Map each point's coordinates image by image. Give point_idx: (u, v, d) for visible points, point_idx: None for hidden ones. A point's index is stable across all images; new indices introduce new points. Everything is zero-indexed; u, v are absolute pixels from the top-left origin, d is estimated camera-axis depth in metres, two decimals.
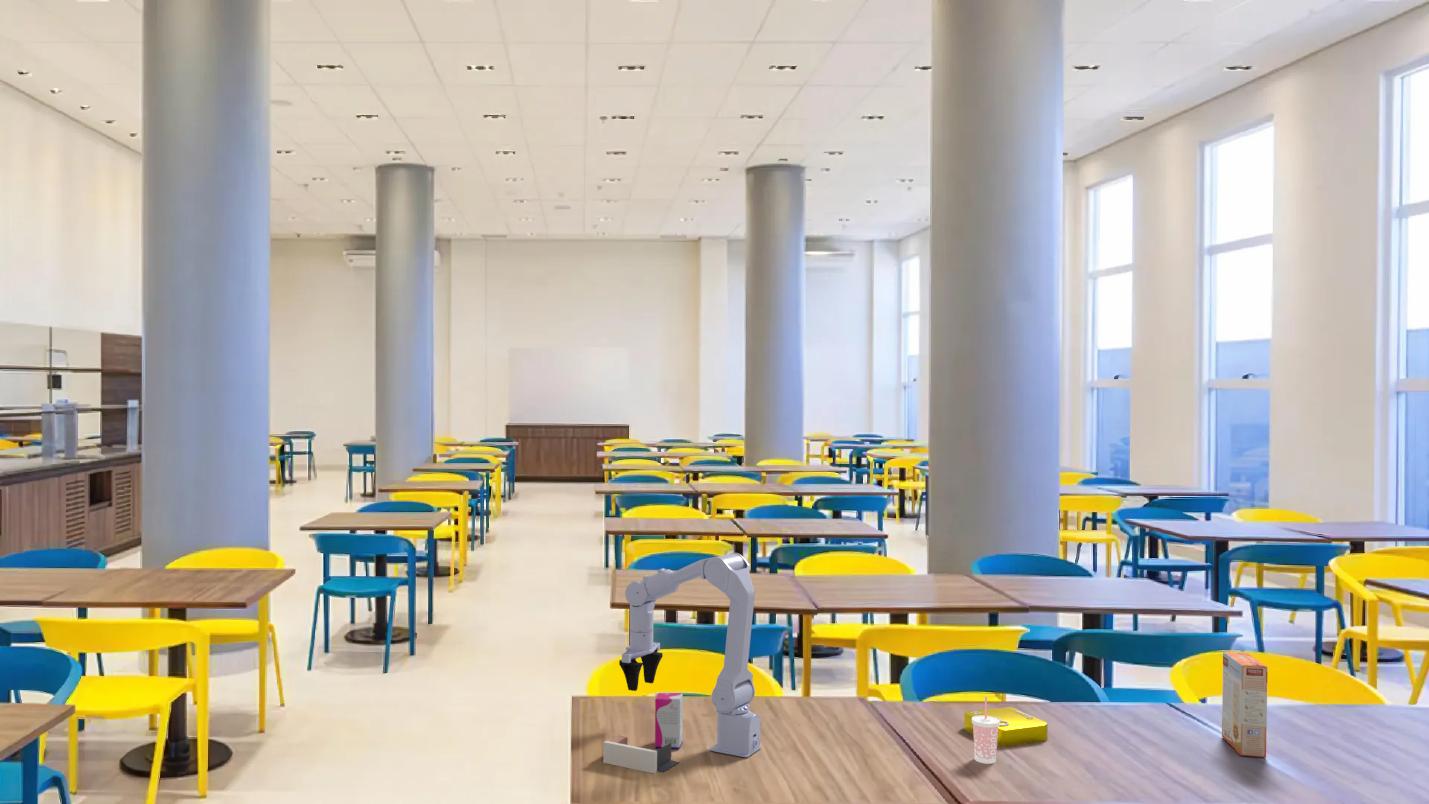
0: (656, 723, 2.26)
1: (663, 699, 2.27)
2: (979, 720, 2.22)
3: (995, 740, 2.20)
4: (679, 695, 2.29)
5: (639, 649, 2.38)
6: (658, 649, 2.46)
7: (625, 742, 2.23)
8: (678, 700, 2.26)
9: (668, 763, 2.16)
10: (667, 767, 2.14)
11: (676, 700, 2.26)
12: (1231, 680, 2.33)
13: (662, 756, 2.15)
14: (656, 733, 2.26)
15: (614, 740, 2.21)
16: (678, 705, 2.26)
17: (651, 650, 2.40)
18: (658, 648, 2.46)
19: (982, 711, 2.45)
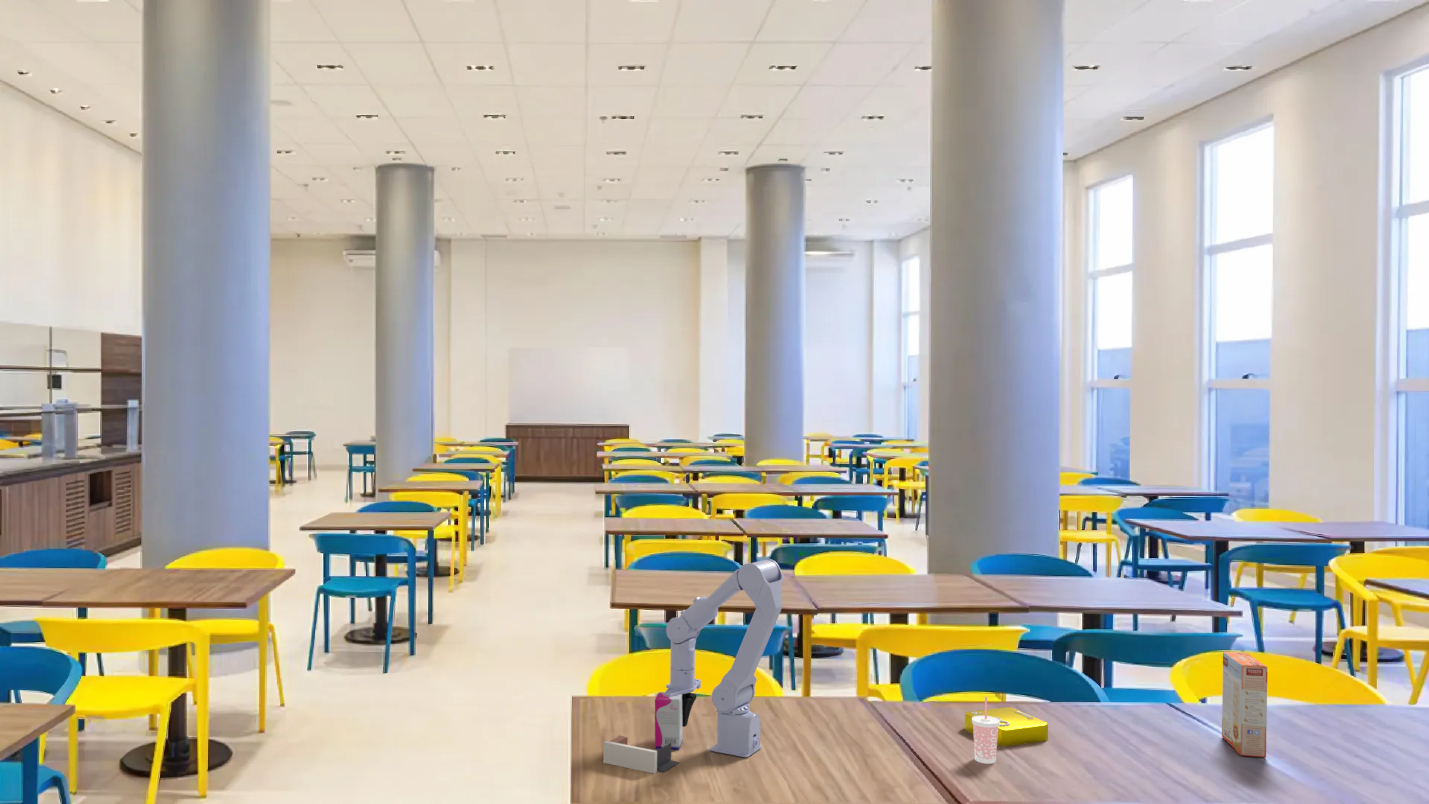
0: (656, 723, 2.26)
1: (663, 699, 2.26)
2: (979, 720, 2.22)
3: (995, 740, 2.20)
4: (679, 695, 2.29)
5: (680, 688, 2.31)
6: (699, 686, 2.40)
7: (625, 742, 2.23)
8: (678, 700, 2.26)
9: (668, 763, 2.16)
10: (667, 767, 2.14)
11: (676, 700, 2.26)
12: (1231, 680, 2.33)
13: (662, 756, 2.15)
14: (656, 733, 2.26)
15: (614, 740, 2.21)
16: (678, 705, 2.26)
17: (692, 688, 2.33)
18: (699, 685, 2.40)
19: (982, 711, 2.45)
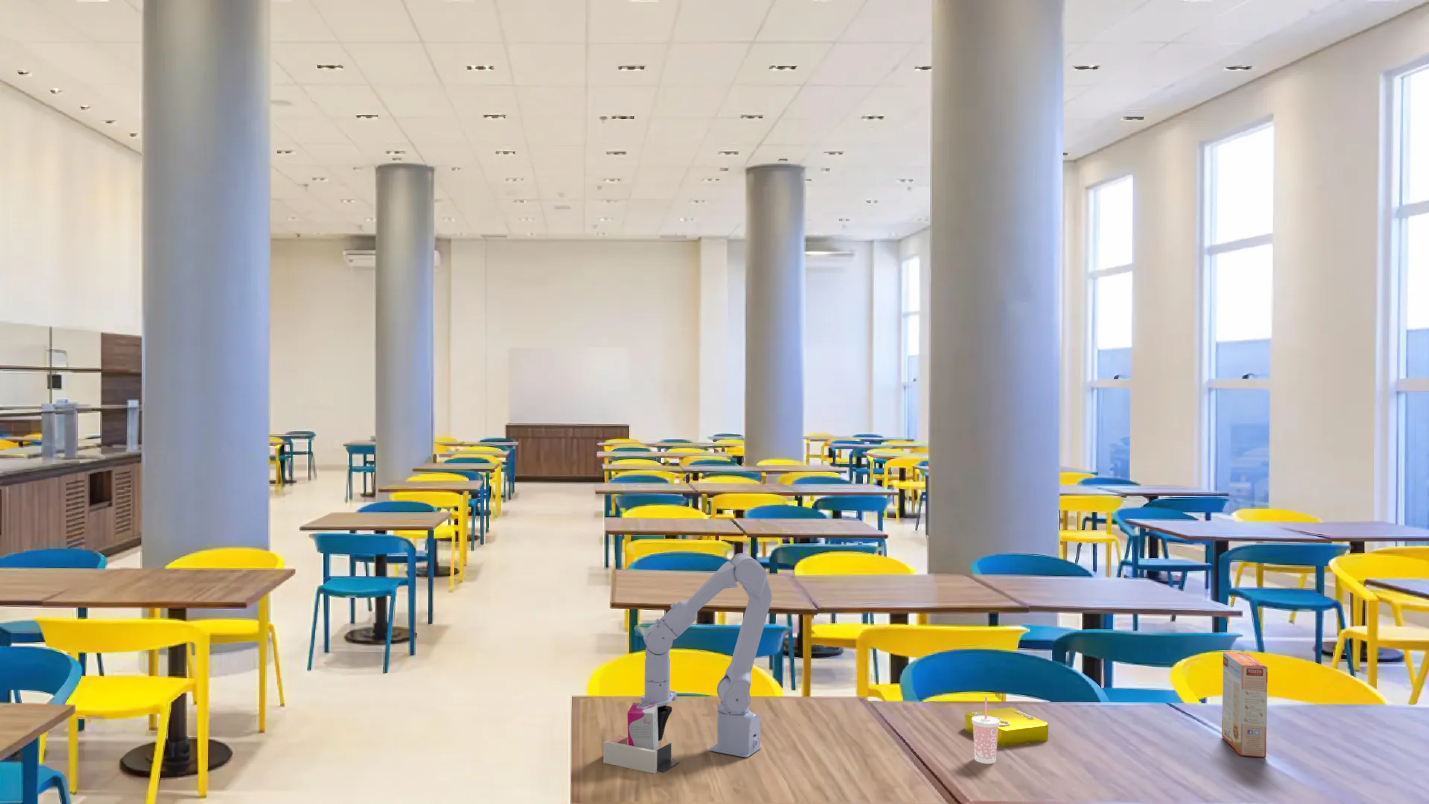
0: (629, 737, 2.16)
1: (635, 713, 2.16)
2: (979, 720, 2.22)
3: (995, 740, 2.20)
4: (653, 707, 2.19)
5: (655, 700, 2.21)
6: (675, 698, 2.29)
7: (625, 742, 2.23)
8: (651, 714, 2.15)
9: (668, 763, 2.16)
10: (667, 767, 2.14)
11: (649, 714, 2.15)
12: (1231, 680, 2.33)
13: (662, 756, 2.15)
14: None
15: (614, 740, 2.21)
16: (651, 719, 2.15)
17: (668, 701, 2.23)
18: (675, 697, 2.29)
19: (982, 711, 2.45)
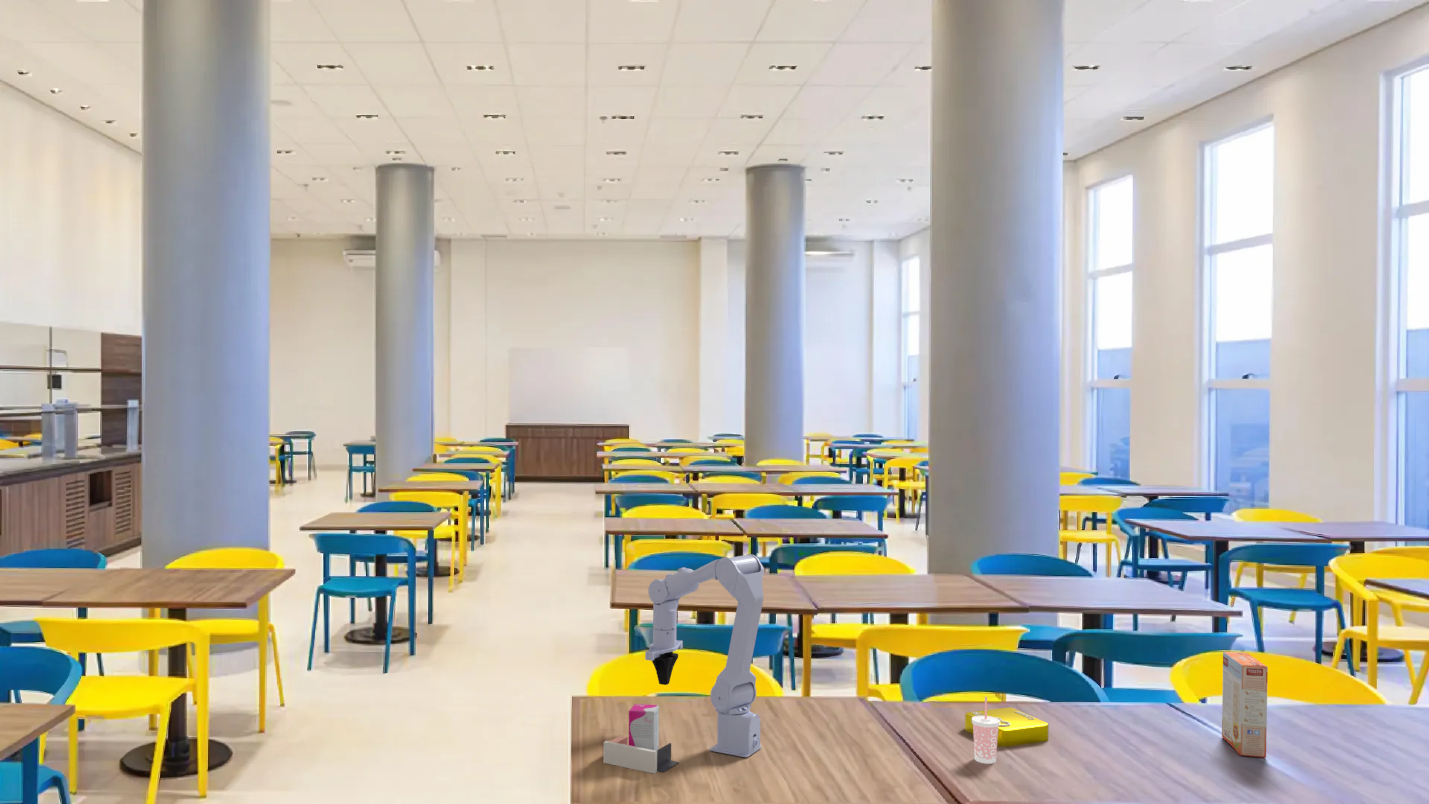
0: (629, 736, 2.17)
1: (637, 711, 2.17)
2: (979, 720, 2.22)
3: (995, 740, 2.20)
4: (654, 707, 2.20)
5: (662, 647, 2.40)
6: (681, 647, 2.48)
7: (625, 742, 2.23)
8: (652, 712, 2.17)
9: (668, 763, 2.16)
10: (667, 767, 2.14)
11: (650, 712, 2.17)
12: (1231, 680, 2.33)
13: (662, 756, 2.15)
14: None
15: (614, 740, 2.21)
16: (652, 718, 2.17)
17: (674, 648, 2.41)
18: (681, 646, 2.48)
19: (983, 711, 2.45)
